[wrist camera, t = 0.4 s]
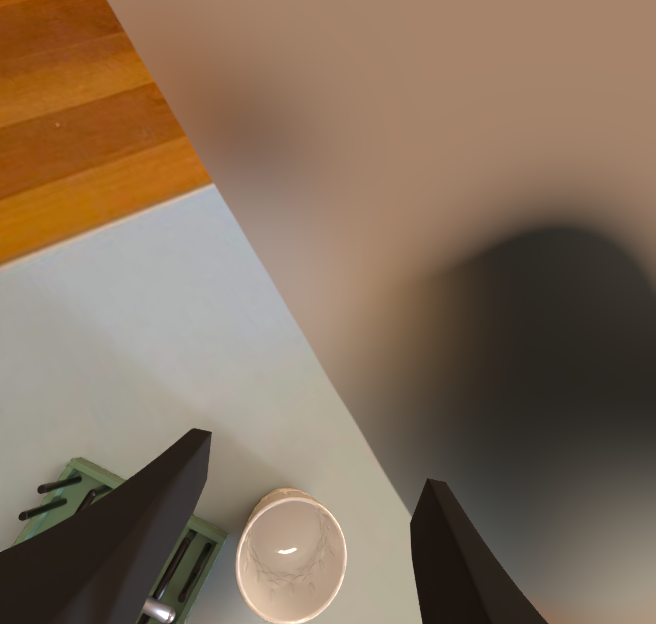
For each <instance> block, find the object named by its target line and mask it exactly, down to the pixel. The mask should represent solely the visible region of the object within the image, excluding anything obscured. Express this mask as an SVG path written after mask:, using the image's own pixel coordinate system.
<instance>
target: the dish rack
mask: <svg viewBox="0 0 656 624" xmlns="http://www.w3.org/2000/svg"><path fill="white" fill-rule="evenodd" d="M81 480H82V478H81V476H77V477H73V478H68V479H64V480H60V481H56V482H52V483H48V484H44V485H41V486H39V487H38V490H37V491H38V493H40V494H42V493H45V492H49V491H52V490H56V489H60V488H63V487H67V486H70V485H74V484H77V483H80V482H81ZM111 490H112V488H111V487H109V486H107V485H103V486H100V487H97V488H94V489H91V490H90V491H89V492H88V493H87V495H86V496H85V498H84V499H83V501H82V502H81V504H80V505H79V507H78V509H77V510H76V512H75V513H74V514H76V513H77V512H79V511H81V510H82V509H84V508H86V507H87V506H89V505H91V503H92V502H93V500H94V499H95V497H97V496H100V495H102V494H105V493H107V492H110V491H111ZM66 503H67V499H66V498H63V499H60V500H57V501H54V502H51V503H48V504H45V505H42V506H39V507H36V508H33V509H30V510H27V511H24V512H22V513H20V515H19V520H21V521H24V520H26V519H29V518H32V517H34V516H37V515H40V514H42V513H45V512H48V511H50V510H53V509H56V508H58V507H61V506H64V505H65V504H66ZM196 534H197V532H196V531H194V530H192V529H190V531H189V532H188V533H187V534H186V536H185V537H184V538H183V540H182V542H181V544H180V545H179V547H178V549H177V551H176V553H175V555H174V556H173V558H172V560H171V562H170V564H169V566H168V568H167V569H166V571H165V573H164V575H163V577H162V579H161V580H160V582H159V584H158V586H157V588H156V590H155V592H154V593H153V595H152V597H153V598H154V599H156V600H158V601H160V599H161V597H162V595H163V593H164V592H165V590H166V588H167V586H168V584H169V582H170V580H171V578H172V577H173V575H174V573H175V571H176V569H177V567H178V565H179V563H180V562H181V560H182V558H183V556H184V554H185V552H186V550H187V548H188V547H189V545H190V543H191V542H192V540H193V539H194V537H195V536H196ZM210 549H211V544H210V543H206V544H205V546H204V548H203V550H202V552H201V554H200V556H199V558H198V560H197V561H196V563H195V565H194V567H193V569H192V571H191V573H190V575H189V577H188V579H187V581H186V583H185V585H184V586H183V588H182V590H181V592H180V594H179V596H178V601H179V602H180V603H183V602H184V601H185V600H186V598H187V596H188V594H189V592H190V589H191V587H192V585H193V583H194V581H195V579H196V577H197V575H198V573H199V572H200V571H201V569H202V566H203V564H204V562H205V560H206V558H207V556H208V553H209V551H210ZM150 618H151V616H149V615H147V614H145V613H143V614H142V616H141V617H140V619H139V621H138V623H137V624H147V623H148V622H149V620H150ZM173 621H174V620H173ZM173 621H172V622H171V623H169V624H172V623H173Z"/></svg>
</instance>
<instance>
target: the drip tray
mask: <svg viewBox="0 0 656 624" xmlns="http://www.w3.org/2000/svg"><path fill="white" fill-rule="evenodd" d="M77 476H81V478H82V480H81V482H80V483H77V484H74V485H70V486H67V487H63V488H60V489H56V490H52V491H50V492H49V493H48V495H47V496H46V498H45V499H44V501H43V502H42V503H41V505H40V506H42V505H45V504H48V503H51V502H54V501H57V500H60V499H63V498H66V499H67V503H66V504H65V505H64V506H61V507H58V508H56V509H53V510H50V511H48V512H45V513H42V514H40V515H37V516H34V517H32V518H31V520H30V521H29V522H28V524H27V525H26V527H25V528H24V530H23V531H22V533H21V534H20V536H19V537H18V539H17V540H16V541H15V543H14V544H13V546H15V545H17V544H19V543H21V542H23V541H25V540H27V539H29V538H31V537H33V536H35V535H37V534H39V533H41V532H43V531H45V530H47V529H49V528H51V527H52V526H54V525H56V524H58V523H60V522H61V521H63V520H65V519H67V518H69V517H70V516H72V515H74V513H75V512H76V510H77V509H78V507H79V505H80V504H81V502H82V501H83V499H84V498H85V496H86V495H87V493H88V492H89V491H90V490H91V489H94V488H97V487H100V486H103V485H107V486H109V487H111V488H112V490H114V489H115V488H117V487H118V486H119V485H121V484H122V483H124V482H125V481H126V480H124V479H122V478H120V477H118V476H116V475H114V474H112V473H110V472H108V471H106V470H104V469H102V468H101V467H99V466H97V465H95V464H93V463H91V462H89V461H87V460H85V459H83V458H75V459H72V460H71V461H70V462H69V464H68V466H67V467H66V468H65V470H64V471H63V473H62V474H61V476H60V477H59V479H58V480H57V481H60V480H64V479H68V478H73V477H77ZM112 490H111V491H112ZM111 491H110V492H111ZM108 493H109V492H107V493H105V494H102V495H100V496H97V497H95V499H94V500H93V502H92V503H94V502H95V501H97V500H99V499H100V498H102V497H103V496H105V495H106V494H108ZM92 503H91V504H92ZM190 529H192V530H194V531H196V532H197V534H196V536H195V537H194V539H193V540H192V542H191V543H190V545H189V547H188V548H187V550H186V552H185V554H184V556H183V558H182V560H181V562H180V563H179V565H178V567H177V569H176V571H175V573H174V575H173V577H172V578H171V580H170V582H169V584H168V586H167V588H166V590H165V592H164V593H163V595H162V597H161V599H160V602H162V603H164V604H166V605H168V606H170V607H172V608H173V609H174V610H175V618H174V621H173V623H172V624H184V622H185V620H186V618H187V616H188V614H189V612H190V610H191V608H192V607H193V605H194V603H195V601H196V599H197V597H198V595H199V593H200V591H201V589H202V587H203V585H204V583H205V581H206V579H207V577H208V575H209V573H210V571H211V569H212V567H213V565H214V563H215V561H216V559H217V557H218V555H219V553H220V551H221V549H222V547H223V545H224V543H225V541H226V539H227V536H228V533H226V532H224V531H222V530H221V529H219V528H217V527H215V526H213V525H211V524H209V523H207V522H205V521H203V520H201V519H199V518H197V517H195V516H193V515H191V517H190V519H189V521H188V523H187V524H186V526H185V528H184V530H183V532H182V534H181V536H180V537H179V539H178V541H177V543H176V545H175V547H174V548H173V550H172V552H171V554H170V556H169V558H168V559H167V561H166V563H165V565H164V567H163V569H162V570H161V572H160V574H159V576H158V578H157V580H156V581H155V583H154V585H153V587H152V589H151V591H150V593H149V596H151V597H152V595H153V593H154V592H155V590H156V588H157V586H158V584H159V582H160V580H161V579H162V577H163V575H164V573H165V571H166V569H167V568H168V566H169V564H170V562H171V560H172V558H173V556H174V555H175V553H176V551H177V549H178V547H179V545H180V544H181V542H182V540H183V538H184V537H185V536H186V534H187V533H188V532H189V531H190ZM206 543H210V544H211V549H210V551H209V553H208V556H207V558H206V560H205V562H204V564H203V566H202V569H201V571H200V572H199V573H198V575H197V577H196V579H195V581H194V583H193V585H192V587H191V589H190V592H189V594H188V596H187V598H186V600H185V601H184V602H183V603H180V602H179V601H178V596H179V594H180V592H181V590H182V588H183V586H184V585H185V583H186V581H187V579H188V577H189V575H190V573H191V571H192V569H193V567H194V565H195V563H196V561H197V560H198V558H199V556H200V554H201V552H202V550H203V548H204V546H205V544H206ZM13 546H12V547H13ZM142 614H143V612H141V613H140V615H139V618H138V620H137V622H136V624H137V623H138V621H139V619H140V617H141V616H142ZM147 624H164V623H162V622H160V621H159V620H157V619H155V618H153V617H151V618H150V620H149V622H148V623H147Z"/></svg>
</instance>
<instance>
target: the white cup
mask: <svg viewBox="0 0 656 624" xmlns="http://www.w3.org/2000/svg"><path fill="white" fill-rule="evenodd" d="M345 569H346V544H345V540H344V536H343V533H342V530H341V528H340V526H339V524H338V522H337V521H336V519H335V518H334V517H333V515H332V514H331V513H330V512H329V511H328V510H327V509H326V508H325V507H323V506H322V505H321V504H320V503H319V502H318V501H317V500H315V499H314V498H313V497H311V496H310V495H308V494H306V493H305V492H303V491H300V490H297V489H294V488H292V487H288V488H280V489H275V490H273V491H272V492H270V493H269V494H267V495H266V496H264V497H263V498H261V500H260V501H259V503H258V505H257V506H256V507H255V508H254V510H253V512H252V513H251V515H250V517H249V519H248V521H247V523H246V526H245V529H244V531H243V534H242V536H241V538H240V541H239V544H238V548H237V553H236V561H235V571H236V579H237V583H238V587H239V590H240V592H241V595H242V597H243V598H244V600H245V602H246V603H247V605H248V606H249V607H250V608H251V609H252V611H253V612H255V613H256V614H257V615H258V616H260V617H261V618H263V619H264V620H266V621H269V622H271V623H274V624H299V623H303V622H306V621H308V620H310V619H312V618H314V617H315V616H317V615H318V614H319V613H321V612H322V611H323V610H324V609H325V608H326V607H327V606H328V605H329V604H330V603H331V601H332V600H333V599H334V597H335V596H336V594H337V592H338V590H339V588H340V586H341V583H342V581H343V577H344V574H345Z"/></svg>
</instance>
